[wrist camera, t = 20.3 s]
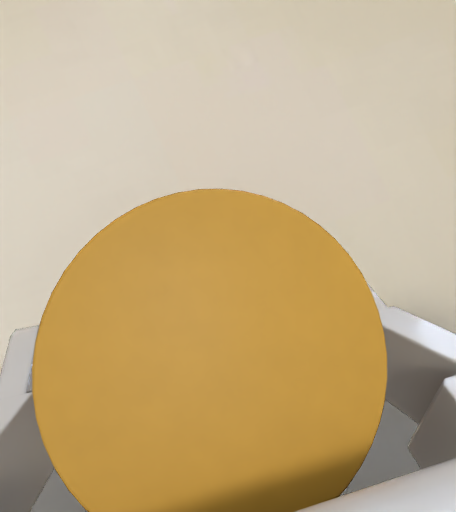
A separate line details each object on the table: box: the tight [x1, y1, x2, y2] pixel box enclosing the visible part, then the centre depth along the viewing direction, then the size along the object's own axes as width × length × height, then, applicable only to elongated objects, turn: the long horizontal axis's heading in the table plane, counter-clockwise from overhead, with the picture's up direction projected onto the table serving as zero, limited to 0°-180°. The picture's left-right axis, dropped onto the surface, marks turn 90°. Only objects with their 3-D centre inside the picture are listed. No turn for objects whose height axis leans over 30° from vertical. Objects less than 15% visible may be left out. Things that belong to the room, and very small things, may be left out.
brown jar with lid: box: [32, 189, 387, 512], centre depth 9 cm, size 5×5×8 cm
